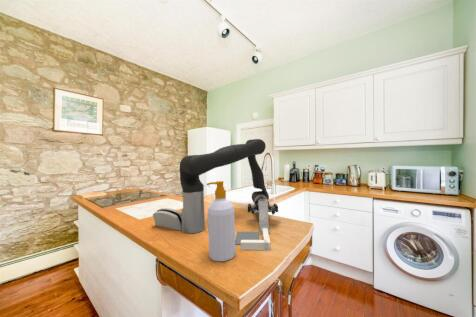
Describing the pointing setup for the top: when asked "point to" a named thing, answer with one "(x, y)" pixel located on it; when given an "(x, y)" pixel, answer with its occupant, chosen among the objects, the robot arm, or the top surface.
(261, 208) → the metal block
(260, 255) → the top surface
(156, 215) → the grey rounded block
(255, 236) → the pad
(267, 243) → the corner piece
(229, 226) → the soap bottle
